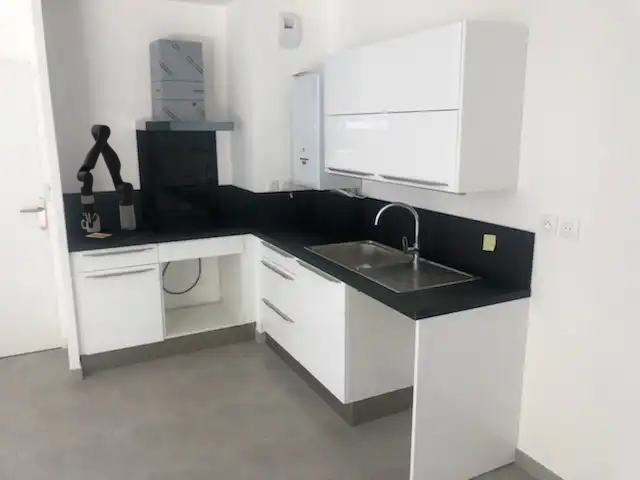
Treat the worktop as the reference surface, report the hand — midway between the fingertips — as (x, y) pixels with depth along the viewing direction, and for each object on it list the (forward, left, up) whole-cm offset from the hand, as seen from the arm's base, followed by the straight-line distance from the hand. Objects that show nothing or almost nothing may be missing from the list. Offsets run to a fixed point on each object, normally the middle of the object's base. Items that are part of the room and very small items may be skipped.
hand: (91, 228), depth 344 cm
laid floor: (-1, +4, -6) cm, 8 cm away
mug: (-11, -9, -7) cm, 16 cm away
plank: (-1, +2, -6) cm, 6 cm away
